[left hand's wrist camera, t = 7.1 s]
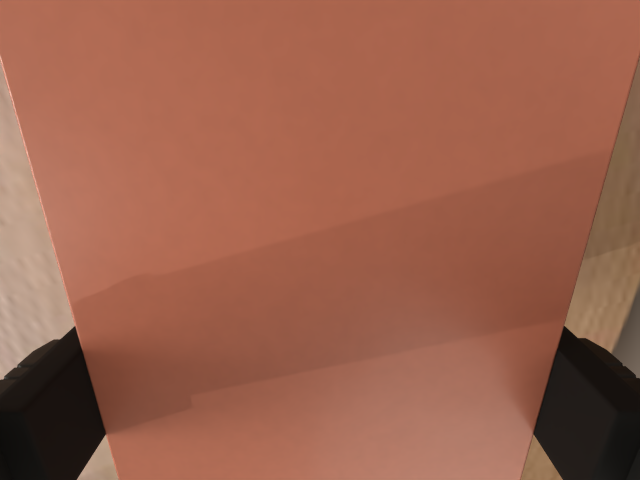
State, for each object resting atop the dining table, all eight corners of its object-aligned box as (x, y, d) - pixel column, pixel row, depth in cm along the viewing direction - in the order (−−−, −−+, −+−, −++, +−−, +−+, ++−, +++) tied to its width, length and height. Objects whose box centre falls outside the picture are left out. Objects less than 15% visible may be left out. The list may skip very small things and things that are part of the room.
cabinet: (154, -123, 12) (-190, -595, 4) (484, -123, 12) (827, -592, 4) (209, 311, 18) (118, 483, 10) (429, 310, 18) (521, 483, 10)
